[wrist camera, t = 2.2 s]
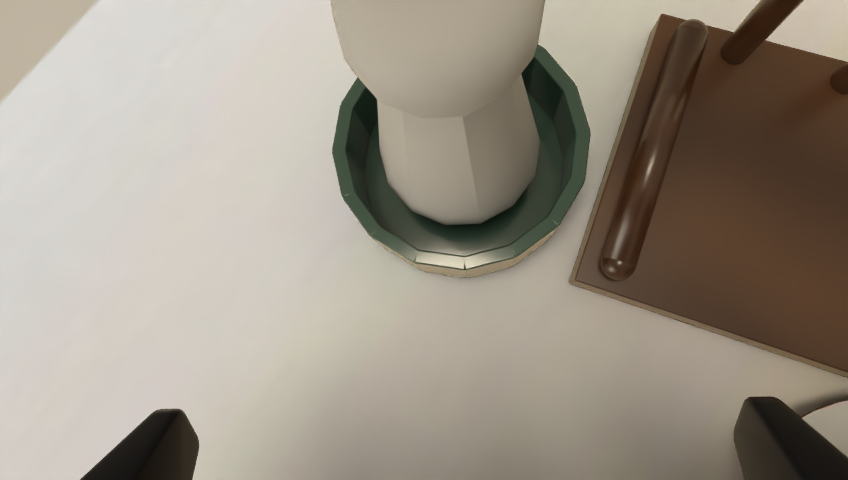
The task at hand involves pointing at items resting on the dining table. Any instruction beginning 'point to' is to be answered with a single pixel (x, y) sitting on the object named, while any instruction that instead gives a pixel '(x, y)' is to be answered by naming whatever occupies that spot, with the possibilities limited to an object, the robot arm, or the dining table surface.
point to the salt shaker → (448, 98)
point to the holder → (496, 237)
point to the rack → (730, 190)
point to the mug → (831, 423)
